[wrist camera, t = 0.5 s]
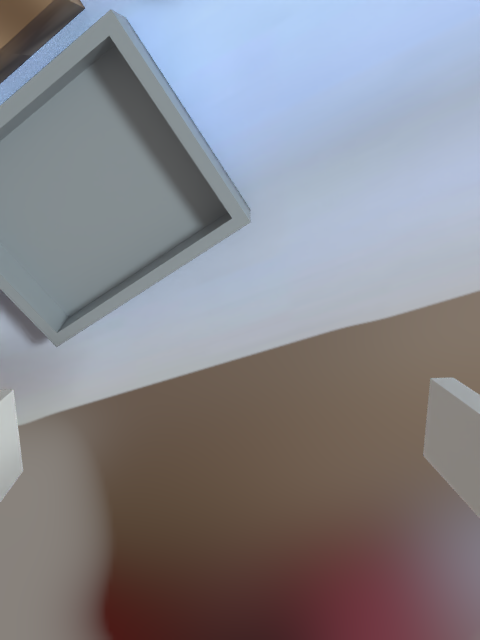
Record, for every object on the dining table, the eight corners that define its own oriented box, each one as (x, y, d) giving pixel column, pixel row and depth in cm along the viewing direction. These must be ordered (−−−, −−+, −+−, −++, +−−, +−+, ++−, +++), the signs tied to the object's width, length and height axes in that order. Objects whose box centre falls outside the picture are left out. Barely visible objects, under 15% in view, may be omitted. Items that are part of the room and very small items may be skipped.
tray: (125, 17, 32) (110, 9, 28) (250, 209, 38) (250, 222, 34) (-64, 179, 37) (-97, 189, 34) (72, 325, 43) (56, 347, 40)
